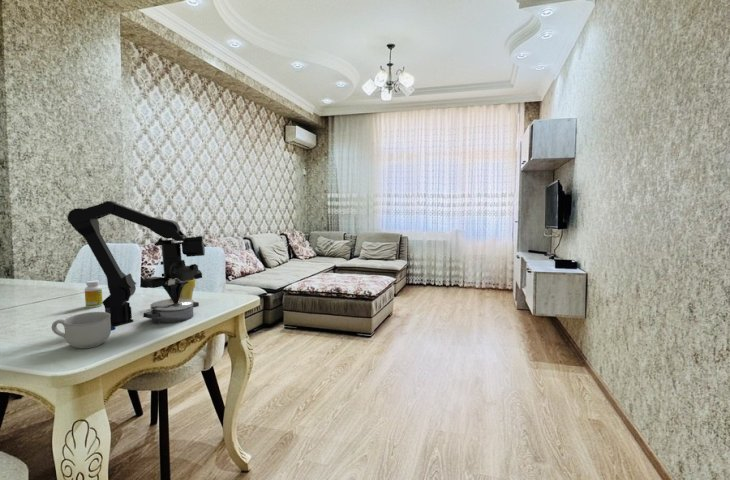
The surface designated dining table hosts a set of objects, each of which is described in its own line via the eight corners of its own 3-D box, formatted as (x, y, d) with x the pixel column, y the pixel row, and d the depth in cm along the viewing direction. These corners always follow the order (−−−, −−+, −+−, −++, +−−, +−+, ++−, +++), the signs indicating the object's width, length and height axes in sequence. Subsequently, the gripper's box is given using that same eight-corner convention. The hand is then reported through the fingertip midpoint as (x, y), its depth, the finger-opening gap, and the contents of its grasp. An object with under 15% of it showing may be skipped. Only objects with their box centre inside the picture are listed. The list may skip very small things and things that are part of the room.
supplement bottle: (100, 307, 150) (99, 282, 149) (84, 308, 148) (82, 283, 147) (104, 303, 155) (102, 279, 154) (88, 305, 153) (86, 280, 152)
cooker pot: (160, 327, 124) (160, 315, 124) (135, 322, 130) (135, 310, 130) (207, 314, 140) (206, 302, 139) (183, 309, 146) (182, 298, 146)
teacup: (120, 338, 115) (118, 311, 114) (96, 351, 104) (94, 322, 104) (71, 338, 115) (69, 311, 114) (42, 352, 104) (40, 323, 103)
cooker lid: (167, 313, 126) (166, 305, 125) (142, 308, 132) (141, 300, 132) (201, 304, 137) (201, 297, 137) (177, 299, 144) (176, 292, 143)
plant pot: (201, 301, 159) (200, 277, 158) (187, 307, 148) (186, 282, 147) (177, 300, 160) (175, 276, 159) (161, 307, 149) (160, 281, 148)
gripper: (161, 262, 121) (165, 312, 122) (211, 254, 137) (214, 298, 138) (139, 261, 126) (143, 309, 127) (190, 254, 142) (193, 296, 144)
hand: (175, 303), depth 134 cm, fingers closed, pressing on cooker lid
